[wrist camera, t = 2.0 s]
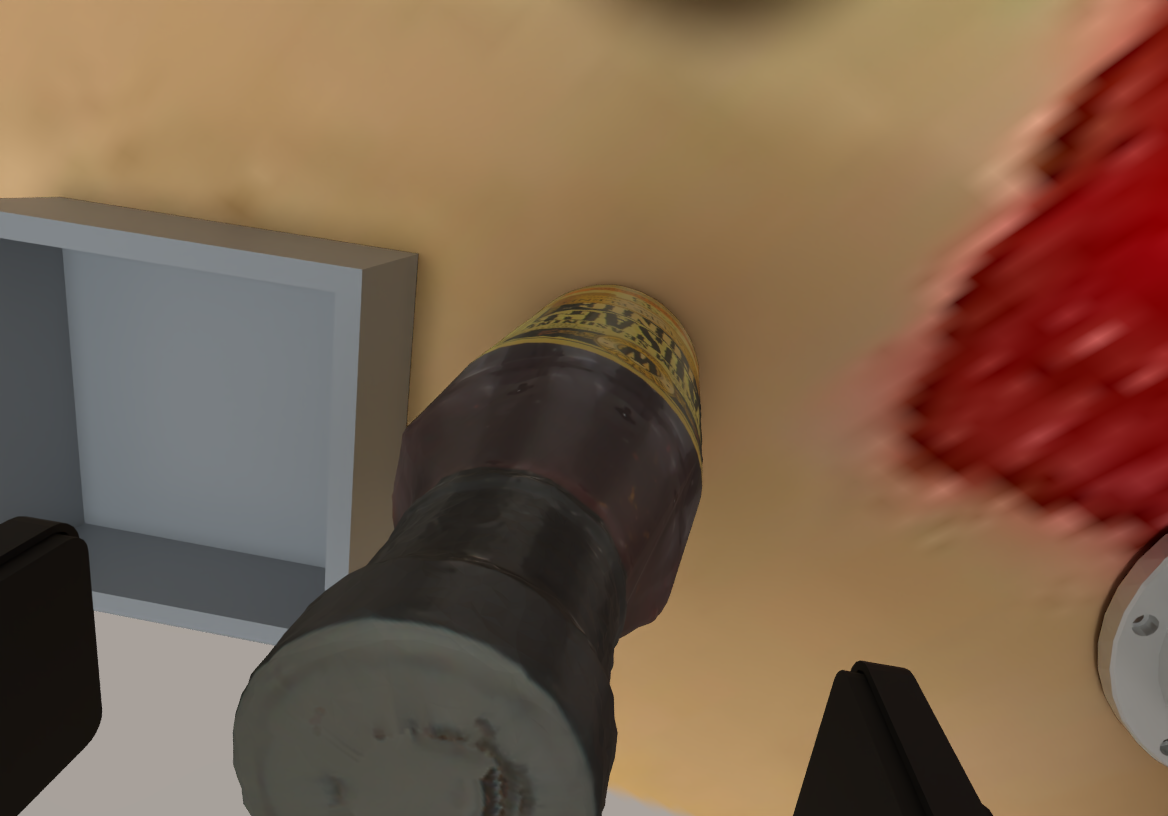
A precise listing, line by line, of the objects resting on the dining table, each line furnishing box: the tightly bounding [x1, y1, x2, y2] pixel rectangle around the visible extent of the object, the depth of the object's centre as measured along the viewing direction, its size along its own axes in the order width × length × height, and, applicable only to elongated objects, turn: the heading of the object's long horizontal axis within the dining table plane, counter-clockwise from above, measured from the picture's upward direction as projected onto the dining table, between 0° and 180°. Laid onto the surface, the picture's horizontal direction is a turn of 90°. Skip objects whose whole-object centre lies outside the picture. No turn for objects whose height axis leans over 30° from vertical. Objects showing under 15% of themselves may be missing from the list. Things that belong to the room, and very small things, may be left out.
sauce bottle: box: [233, 285, 703, 816], centre depth 17 cm, size 7×6×20 cm
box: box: [0, 197, 418, 645], centre depth 26 cm, size 14×14×5 cm
